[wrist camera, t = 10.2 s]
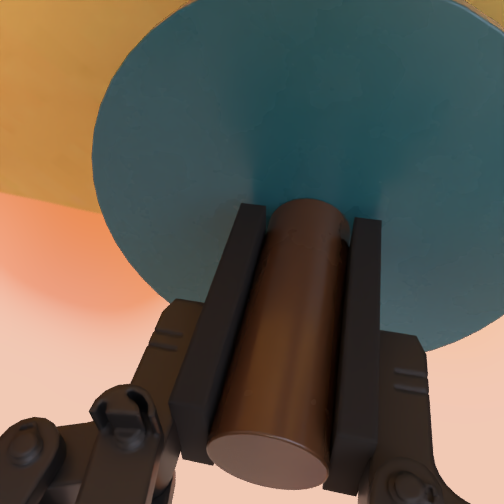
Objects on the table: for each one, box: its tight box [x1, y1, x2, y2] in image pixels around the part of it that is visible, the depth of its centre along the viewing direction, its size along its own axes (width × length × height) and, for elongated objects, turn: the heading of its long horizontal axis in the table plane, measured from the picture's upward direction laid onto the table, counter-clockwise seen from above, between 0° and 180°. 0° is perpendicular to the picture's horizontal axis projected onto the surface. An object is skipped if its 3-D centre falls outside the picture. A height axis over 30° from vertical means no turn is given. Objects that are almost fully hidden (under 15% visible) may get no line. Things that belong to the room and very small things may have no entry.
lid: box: [92, 0, 504, 490], centre depth 13 cm, size 15×15×9 cm
